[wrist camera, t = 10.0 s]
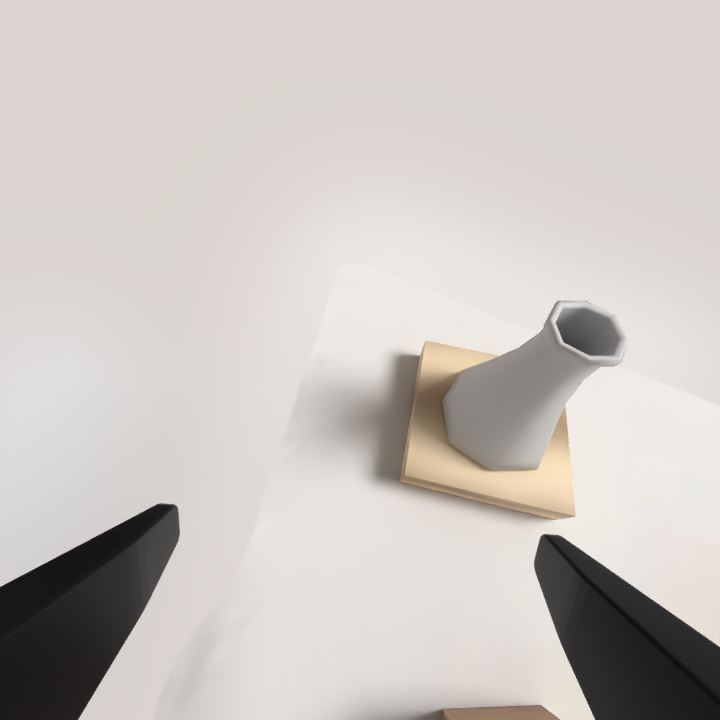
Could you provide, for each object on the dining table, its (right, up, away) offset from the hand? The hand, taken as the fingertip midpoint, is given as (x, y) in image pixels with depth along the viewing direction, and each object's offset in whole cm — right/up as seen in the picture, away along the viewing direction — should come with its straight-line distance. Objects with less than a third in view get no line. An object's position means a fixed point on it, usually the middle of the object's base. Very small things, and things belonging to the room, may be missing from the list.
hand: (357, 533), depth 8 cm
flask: (+9, 0, +14) cm, 17 cm away
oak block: (+9, -1, +17) cm, 19 cm away
